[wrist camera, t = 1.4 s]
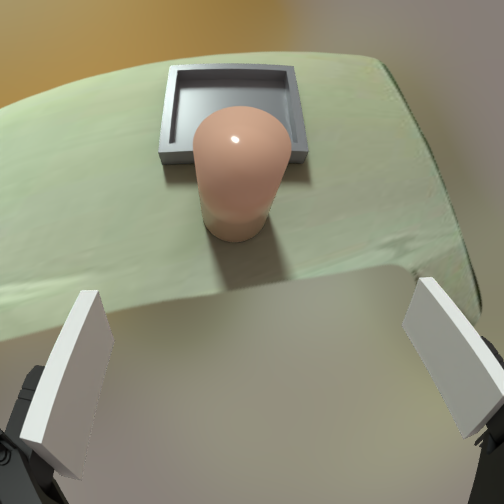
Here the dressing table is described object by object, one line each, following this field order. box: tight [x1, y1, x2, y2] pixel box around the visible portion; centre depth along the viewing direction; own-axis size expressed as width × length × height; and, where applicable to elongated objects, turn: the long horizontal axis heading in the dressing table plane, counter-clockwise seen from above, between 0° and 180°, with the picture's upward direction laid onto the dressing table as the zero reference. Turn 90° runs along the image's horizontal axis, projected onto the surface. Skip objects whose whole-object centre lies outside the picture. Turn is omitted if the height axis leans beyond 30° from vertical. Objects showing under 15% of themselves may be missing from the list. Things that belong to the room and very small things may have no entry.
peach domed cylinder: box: [193, 106, 291, 242], centre depth 26 cm, size 6×6×12 cm
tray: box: [158, 64, 309, 165], centre depth 33 cm, size 15×13×2 cm
